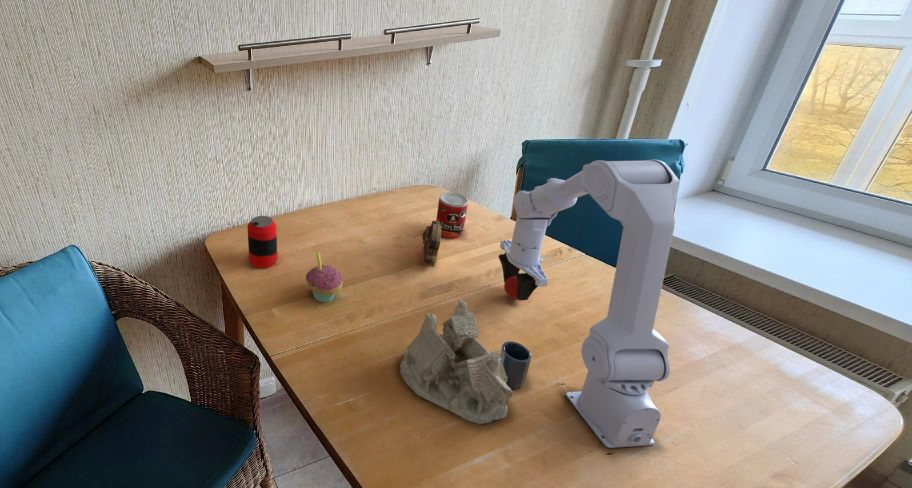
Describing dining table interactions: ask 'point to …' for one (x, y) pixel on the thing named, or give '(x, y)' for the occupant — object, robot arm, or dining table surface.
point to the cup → (515, 363)
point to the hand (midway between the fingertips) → (515, 291)
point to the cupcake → (324, 281)
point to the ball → (511, 286)
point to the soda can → (262, 242)
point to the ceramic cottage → (457, 369)
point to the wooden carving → (431, 243)
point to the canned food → (452, 214)
